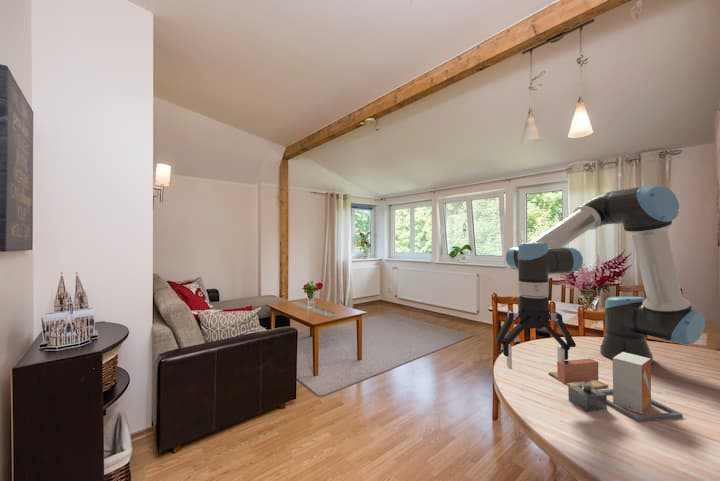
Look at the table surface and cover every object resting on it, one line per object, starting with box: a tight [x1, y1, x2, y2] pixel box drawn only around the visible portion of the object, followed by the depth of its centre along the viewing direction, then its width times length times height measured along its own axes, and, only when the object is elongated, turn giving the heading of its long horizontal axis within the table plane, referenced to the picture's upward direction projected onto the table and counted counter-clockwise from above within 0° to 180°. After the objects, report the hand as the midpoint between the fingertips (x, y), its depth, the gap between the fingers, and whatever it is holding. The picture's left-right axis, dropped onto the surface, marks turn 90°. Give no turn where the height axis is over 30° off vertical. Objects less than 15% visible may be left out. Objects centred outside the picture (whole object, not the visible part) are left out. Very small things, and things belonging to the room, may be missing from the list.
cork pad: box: [548, 371, 609, 389], centre depth 97 cm, size 11×11×1 cm
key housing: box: [567, 385, 608, 413], centre depth 83 cm, size 6×6×4 cm
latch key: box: [556, 358, 600, 391], centre depth 83 cm, size 2×10×8 cm, turn 98°
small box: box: [612, 352, 652, 415], centre depth 83 cm, size 8×6×13 cm
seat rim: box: [597, 388, 684, 423], centre depth 83 cm, size 13×14×1 cm
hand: (534, 368), depth 87 cm, fingers open, 13 cm apart
